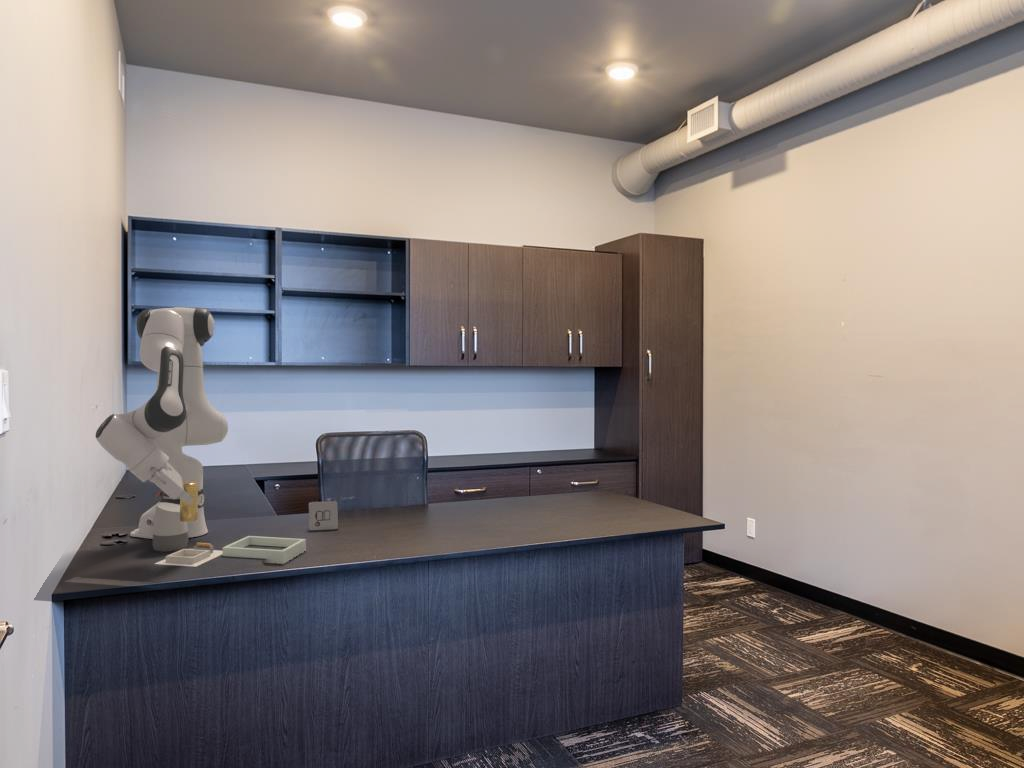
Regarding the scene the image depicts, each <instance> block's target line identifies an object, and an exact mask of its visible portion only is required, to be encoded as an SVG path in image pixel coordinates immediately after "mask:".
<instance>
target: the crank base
mask: <svg viewBox="0 0 1024 768" xmlns="http://www.w3.org/2000/svg"><path fill="white" fill-rule="evenodd" d="M222 553H223V550H217V549H214V545H212V544H211V543H209V542H196V545H195V546H193V547H192V548H184V549H181V550H176V551H174V552H172V553H171V554H170V553H169V554H167V555H166V556H165V558H164V559H161V560H160V561H157V562H155V563H154V565H161V566H162V565H164V566H180V567H181V566H182V567H199V566H201V565H202V564H205V563H207V562H209V561H211V560H213V559H215V558H217V557H220V556H222Z"/></svg>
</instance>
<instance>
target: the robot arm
mask: <svg viewBox="0 0 1024 768" xmlns="http://www.w3.org/2000/svg"><path fill="white" fill-rule="evenodd" d="M215 326H216V324H215V319H214V317H213V314H212V312H210V311H209V309H206V308H202V307H196V308H194V307H193V308H192V307H184V306H183V307H182V306H179V307H178V306H175V307H164V308H156V309H154V308H149V309H144V310H142V311H140V313H139V314H138V315H137V317H136V323H135V329H136V332H137V336H138V337H139V338H140V340H141V341H140V346H139V360H140V362H141V363H142V364H143V366H145V367H146V368H147V369H149V370H151V371H152V372H156V373H157V379H156V380H157V381H156V390H155V392H154V393H153V395H152V396H151V397H150V398H149V400H147V401H146V402H144V404H142V405H141V406H140V407H138V408H136V409H134V410H131V411H127V412H124V413H119V414H118V413H113V414H111V415H109V416H108V417H106V418H105V420H104V421H103V422H102V423H101V424H100V425H99V427H98V428H97V429H96V432H95V439H96V441H97V442H98V443H99V445H100V446H101V447H102V448H103V449H104V450H105V451H106V452H107V453H108V454H109V455H111V457H113V458H114V459H115V460H117V461H119V462H121V463H122V464H123V465H124V466H125V468H126V469H127V470H128V471H129V472H131V473H132V474H133V475H134V476H135V477H136V478H138V479H139V480H140V481H141V482H142V483H146V481H149V482H150V483H152V484H153V483H154V484H155V486H157V487H158V488H159V489H160V490H161V491H160V492H157V493H156V495H155V497H156V498H159V500H158V502H157V503H156V504H154V505H153V506H152V507H151V508H149V509H148V510H147V511H144V513H143V514H142V515H141V516H140V518H139V523H138V528H136V529H134V530H132V531H131V532H130V537H133V538H141V539H142V538H143V539H151V540H153V529H154V521H155V512H156V505H157V504H158V503H161V502H167V503H173V504H177V505H180V498H181V499H182V500H184V501H185V502H187V503H188V504H191V503H192V502H193V501H194V498H193V497H192V496H190V495H189V494H188V493H187V492H186V491H185V490H184V487H183V482H198V520H196V521H190V522H187V528H188V539H189V538H190V539H191V538H194V537H200V536H204V535H205V534H208V533H209V530H208V527H207V523H206V518H205V511H204V505H205V488H204V487H203V486H204V467H203V463H201V461H199V460H198V459H196V458H194V457H192V456H190V455H187V454H185V453H184V452H183V447H188V446H189V447H190V446H191V447H192V446H208V445H214V444H217V443H221V442H223V441H224V439H225V438H226V436H227V434H228V432H229V424H228V423H229V422H228V421H227V418H226V417H225V416H224V414H223V413H221V412H220V411H218V410H217V409H216V408H215V407H214V406H213V405H212V404H211V402H210V401H209V399H208V398H207V395H206V391H205V385H204V361H203V351H202V347H204V346H205V343H208V342H209V340H211V338H212V337H214V331H215V328H216V327H215Z"/></svg>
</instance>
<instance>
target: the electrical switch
mask: <svg viewBox="0 0 1024 768" xmlns="http://www.w3.org/2000/svg"><path fill="white" fill-rule="evenodd" d="M338 513H339V511H338V501H336V500H334V501H330V500H329V501H312V502H309V503H308V530H309V531H310V532H313V531H315V532H316V531H330V530H332V531H333V530H337V529H338V527H339V518H338V517H339V515H338ZM317 524H318V525H317Z"/></svg>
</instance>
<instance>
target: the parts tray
mask: <svg viewBox="0 0 1024 768" xmlns="http://www.w3.org/2000/svg"><path fill="white" fill-rule="evenodd" d="M248 546H267V547H279V548H280V547H282V548H283V547H284V548H283V549H269V548H253V547H251V548H250V547H248ZM306 546H307V539H305V538H290V537H274V536H273V537H272V536H258V535H257V536H256V535H247V536H245V537H242V538H241V539H238V540H236V541H234V542H232V543H229V544H227V545H225V546H223V547H222V551H223V553H222V555H221V556H222V557H233V558H250V559H263V560H262V561H261V562H263V563H264V564H275V563H276V564H277V565H279V564H280V565H284V564H286V563H288V562H290V561H292V560H293V559H294V557H295V558H296V556H297V557H298V556H300V555H302V554H303V553H305V552H307V547H306ZM304 551H305V552H304ZM301 553H302V554H301ZM299 554H300V555H299ZM289 560H290V561H289ZM263 563H262V564H263ZM276 564H275V565H276Z"/></svg>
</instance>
